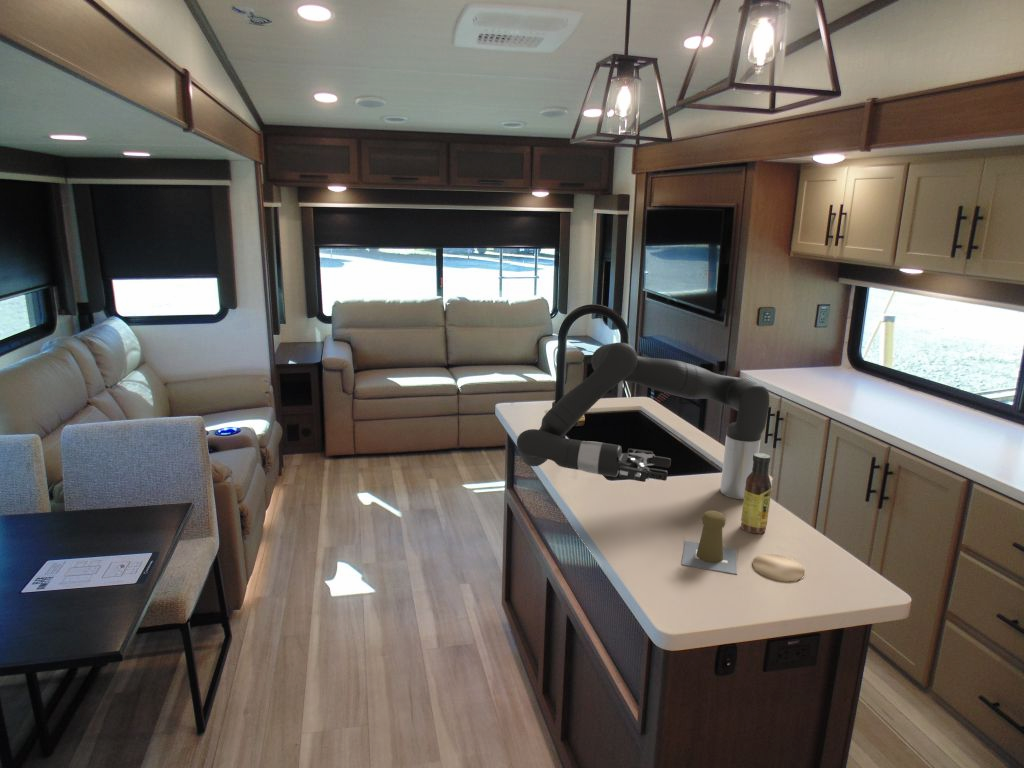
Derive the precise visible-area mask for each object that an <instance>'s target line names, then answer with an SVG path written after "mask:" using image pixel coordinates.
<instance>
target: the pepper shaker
mask: <svg viewBox="0 0 1024 768" xmlns="http://www.w3.org/2000/svg"><path fill="white" fill-rule="evenodd" d="M701 522H702V524H703V527H702V531H701V534H700V537H699V538H700V539H699V542H698V543H699V546H698V550H697V557H698V558H699V559H701V560H703V561H705V562H709V563H718V562H721V561H722V560H723V547H724V541H723V538H724V537H723V528H724V527H725V525H726V517H725V515H724V514H723V513H721V512H719V511H716V510H707V511H705V512H704V513H703V514H702V517H701Z"/></svg>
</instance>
